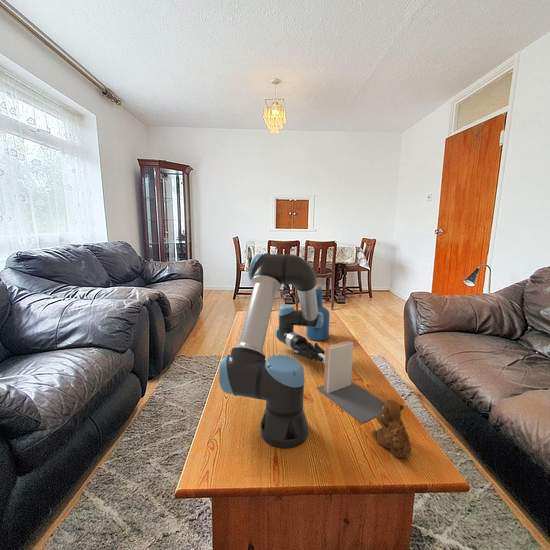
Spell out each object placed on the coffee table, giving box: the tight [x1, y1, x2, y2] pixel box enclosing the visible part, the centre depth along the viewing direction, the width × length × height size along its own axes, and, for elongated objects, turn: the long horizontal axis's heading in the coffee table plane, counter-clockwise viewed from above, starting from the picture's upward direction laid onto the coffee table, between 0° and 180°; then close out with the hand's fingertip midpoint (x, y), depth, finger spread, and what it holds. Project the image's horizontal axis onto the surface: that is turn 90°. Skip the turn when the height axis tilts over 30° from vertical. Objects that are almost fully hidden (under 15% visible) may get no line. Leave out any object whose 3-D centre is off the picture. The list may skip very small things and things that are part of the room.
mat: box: [315, 380, 384, 425], centre depth 109 cm, size 24×16×1 cm, turn 30°
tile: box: [323, 340, 354, 393], centre depth 114 cm, size 2×12×18 cm, turn 120°
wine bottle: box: [305, 285, 331, 342], centre depth 166 cm, size 14×13×30 cm
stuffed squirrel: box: [371, 398, 412, 459], centre depth 84 cm, size 10×14×13 cm
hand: (329, 362), depth 119 cm, fingers closed
